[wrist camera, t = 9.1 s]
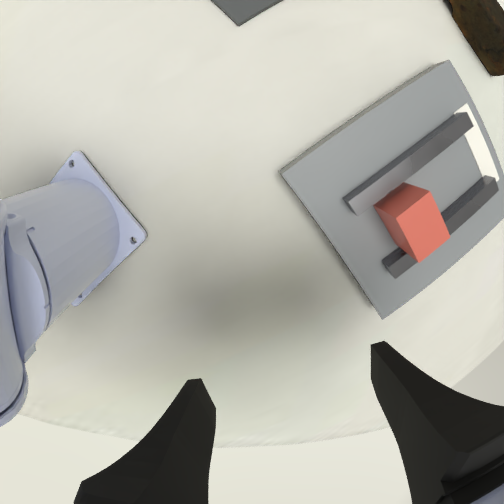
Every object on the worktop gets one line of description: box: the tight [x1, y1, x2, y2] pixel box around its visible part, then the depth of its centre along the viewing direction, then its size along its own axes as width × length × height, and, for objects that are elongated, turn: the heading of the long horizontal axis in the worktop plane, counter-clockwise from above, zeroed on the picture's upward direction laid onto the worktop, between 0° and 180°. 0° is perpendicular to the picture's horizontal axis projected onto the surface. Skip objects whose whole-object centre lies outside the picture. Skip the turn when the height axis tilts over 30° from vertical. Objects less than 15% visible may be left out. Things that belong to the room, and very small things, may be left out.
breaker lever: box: [373, 182, 450, 263], centre depth 15 cm, size 2×3×3 cm
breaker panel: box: [279, 60, 504, 320], centre depth 16 cm, size 14×12×3 cm
